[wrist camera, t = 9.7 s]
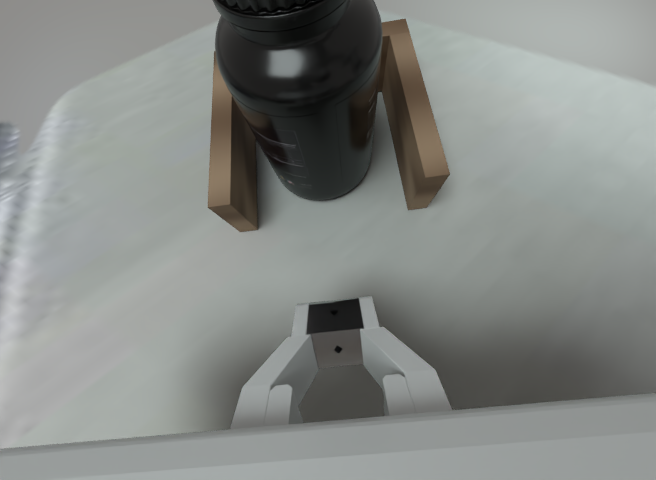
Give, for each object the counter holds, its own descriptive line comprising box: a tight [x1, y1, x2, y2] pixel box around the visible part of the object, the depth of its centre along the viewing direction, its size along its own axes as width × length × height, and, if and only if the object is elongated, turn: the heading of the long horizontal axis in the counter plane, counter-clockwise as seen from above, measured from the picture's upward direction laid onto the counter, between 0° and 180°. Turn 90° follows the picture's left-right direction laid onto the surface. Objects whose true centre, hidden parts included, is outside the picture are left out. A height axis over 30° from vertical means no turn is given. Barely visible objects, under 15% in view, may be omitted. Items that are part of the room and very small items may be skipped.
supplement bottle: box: [213, 0, 383, 200], centre depth 12 cm, size 7×7×12 cm
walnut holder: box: [208, 19, 450, 232], centre depth 16 cm, size 11×12×4 cm
